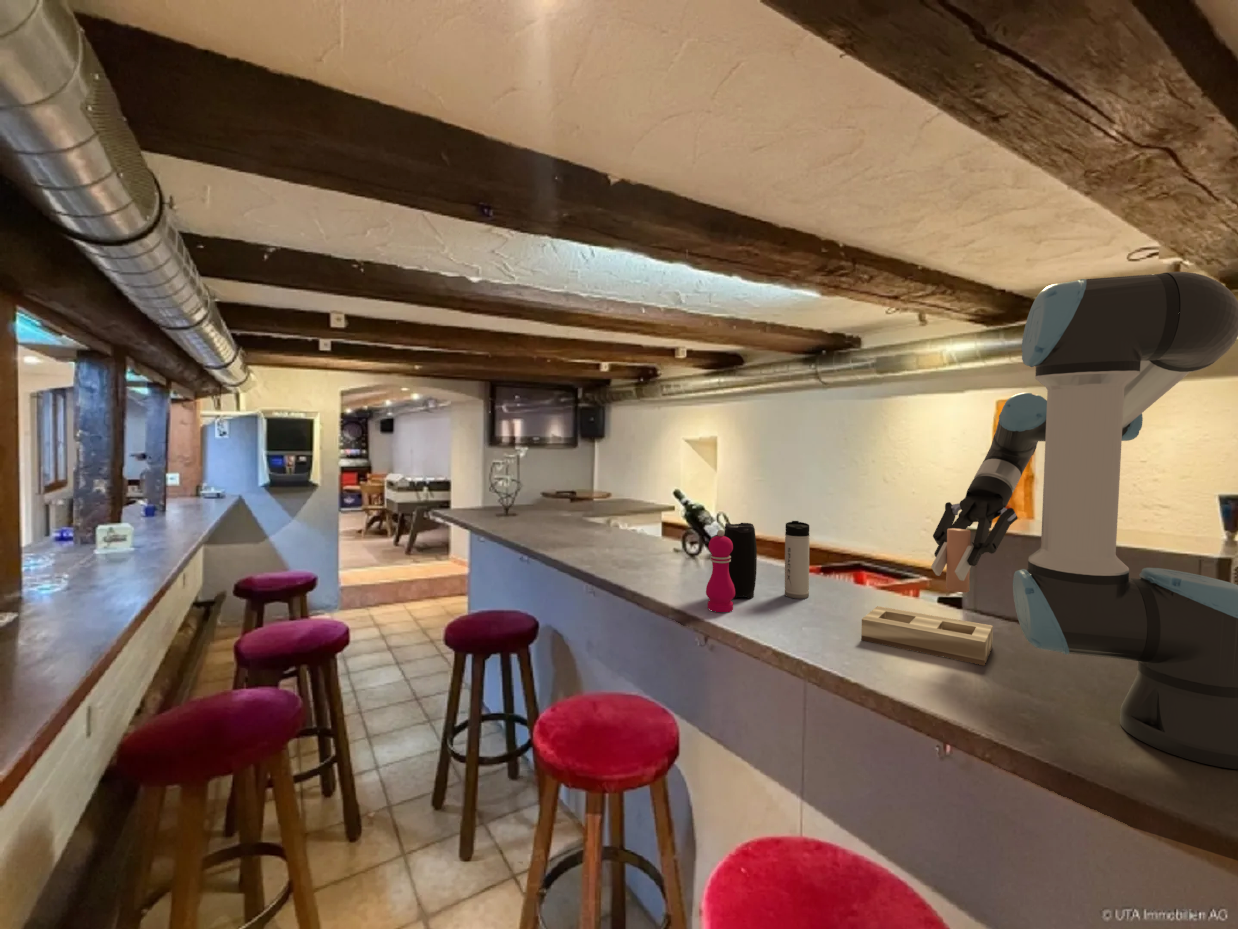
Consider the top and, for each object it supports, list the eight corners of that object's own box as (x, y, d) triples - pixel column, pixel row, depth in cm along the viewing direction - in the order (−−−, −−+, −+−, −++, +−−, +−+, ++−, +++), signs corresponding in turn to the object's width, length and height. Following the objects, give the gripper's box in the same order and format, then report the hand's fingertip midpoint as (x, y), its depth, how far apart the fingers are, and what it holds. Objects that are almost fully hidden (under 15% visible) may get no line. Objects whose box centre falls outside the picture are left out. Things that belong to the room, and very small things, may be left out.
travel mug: (805, 592, 158) (806, 520, 157) (811, 599, 151) (812, 524, 150) (782, 592, 158) (783, 520, 157) (787, 598, 152) (787, 524, 151)
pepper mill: (735, 614, 138) (735, 532, 137) (705, 612, 139) (705, 531, 139) (735, 606, 145) (735, 528, 144) (706, 604, 146) (706, 527, 146)
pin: (967, 593, 111) (969, 532, 111) (944, 590, 114) (945, 530, 113) (970, 589, 114) (972, 529, 114) (947, 586, 117) (949, 527, 116)
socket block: (984, 665, 106) (985, 642, 106) (861, 640, 120) (861, 619, 120) (992, 647, 116) (992, 625, 115) (877, 625, 129) (877, 606, 129)
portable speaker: (715, 596, 154) (716, 524, 154) (737, 590, 161) (737, 521, 160) (741, 602, 148) (742, 527, 147) (762, 596, 154) (763, 524, 153)
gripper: (1045, 501, 114) (1000, 595, 106) (958, 494, 128) (913, 576, 121) (1033, 476, 111) (986, 570, 103) (945, 471, 125) (898, 554, 118)
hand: (947, 573), depth 112 cm, fingers closed on pin, 4 cm apart
